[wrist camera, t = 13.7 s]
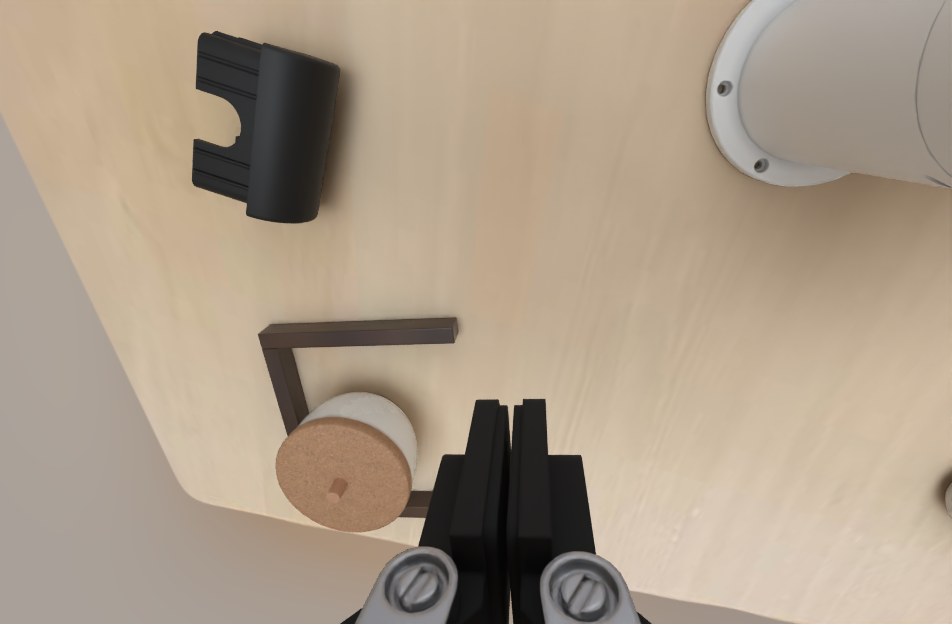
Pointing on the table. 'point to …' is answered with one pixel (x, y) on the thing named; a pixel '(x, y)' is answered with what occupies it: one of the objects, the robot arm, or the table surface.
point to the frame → (339, 334)
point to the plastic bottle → (949, 500)
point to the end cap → (267, 126)
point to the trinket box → (350, 463)
